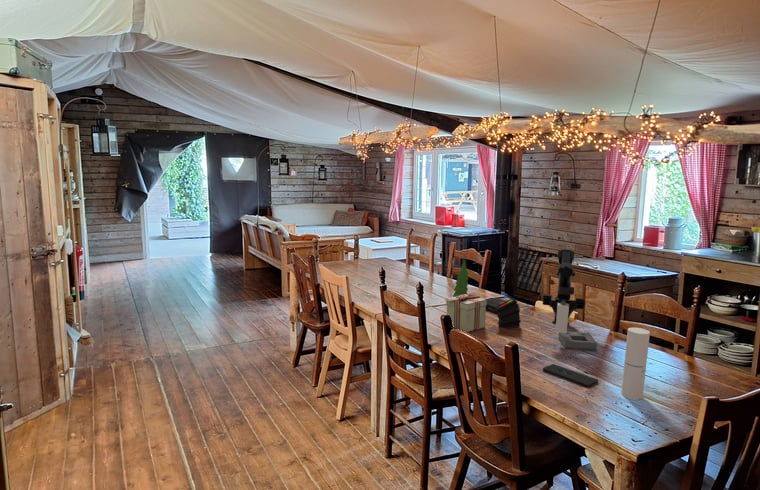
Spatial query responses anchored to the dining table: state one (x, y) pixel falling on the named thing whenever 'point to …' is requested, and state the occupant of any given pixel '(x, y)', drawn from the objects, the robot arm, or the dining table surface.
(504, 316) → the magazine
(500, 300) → the portable cd player
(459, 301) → the gift box
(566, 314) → the white upright cylinder
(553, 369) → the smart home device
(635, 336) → the cylindrical container
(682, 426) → the dining table surface
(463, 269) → the decorative tree
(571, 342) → the block
